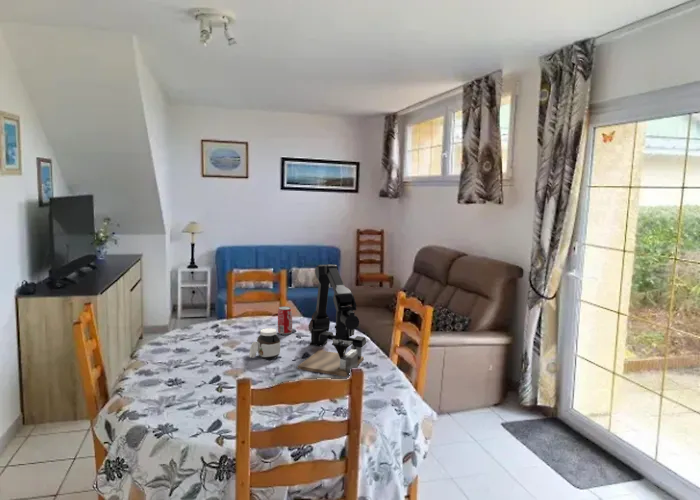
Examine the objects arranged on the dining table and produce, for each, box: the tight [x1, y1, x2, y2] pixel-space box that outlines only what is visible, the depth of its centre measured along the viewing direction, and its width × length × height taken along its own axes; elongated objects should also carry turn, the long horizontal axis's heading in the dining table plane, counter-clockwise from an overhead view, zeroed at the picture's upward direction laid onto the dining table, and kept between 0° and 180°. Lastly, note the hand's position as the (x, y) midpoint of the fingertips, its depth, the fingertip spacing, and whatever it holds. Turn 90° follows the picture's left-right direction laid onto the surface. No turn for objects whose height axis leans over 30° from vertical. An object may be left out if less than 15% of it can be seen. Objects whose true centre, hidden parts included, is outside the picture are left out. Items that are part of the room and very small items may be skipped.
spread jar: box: [249, 327, 281, 360], centre depth 213 cm, size 12×11×12 cm
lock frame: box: [297, 349, 364, 378], centre depth 206 cm, size 22×21×7 cm
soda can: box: [277, 305, 293, 336], centre depth 247 cm, size 7×7×13 cm
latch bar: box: [340, 345, 363, 370], centre depth 205 cm, size 18×4×5 cm, turn 160°
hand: (341, 359), depth 203 cm, fingers closed
